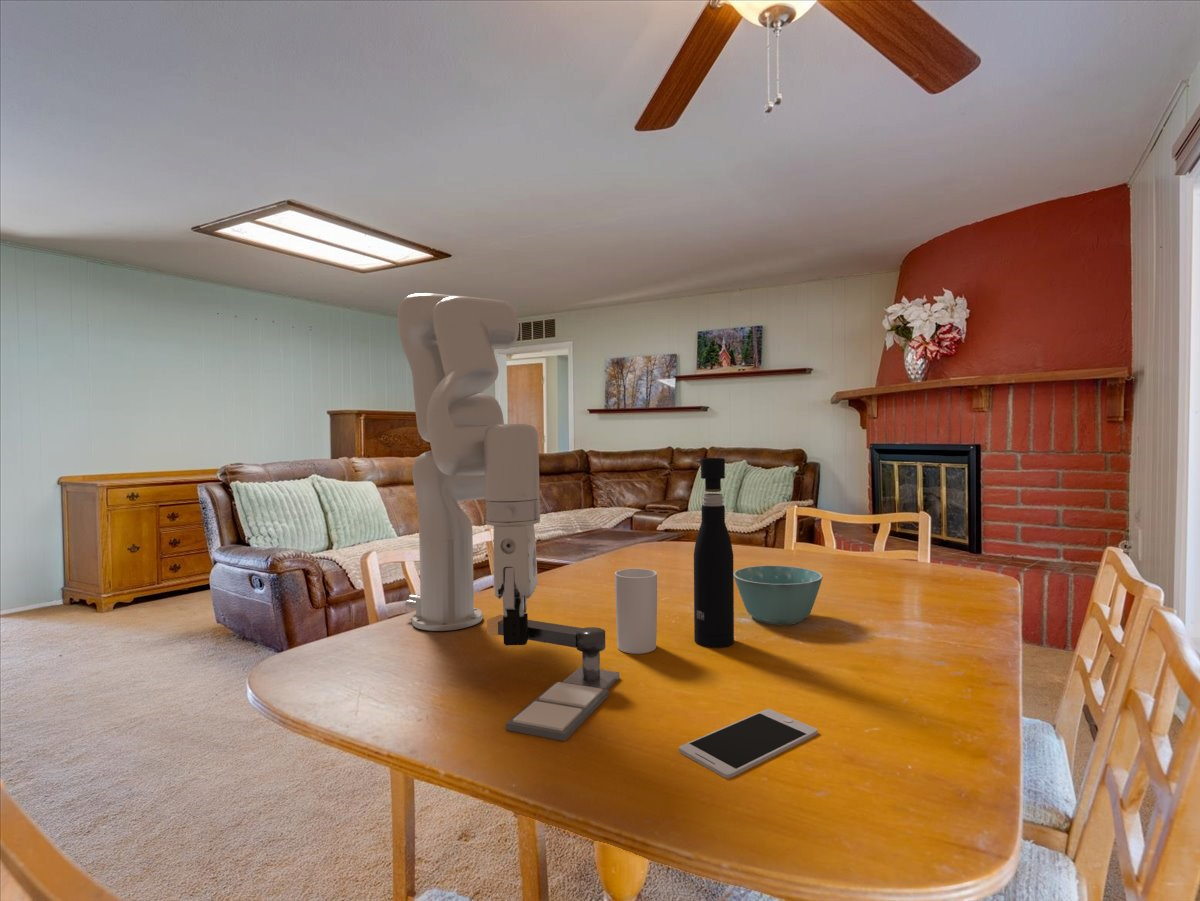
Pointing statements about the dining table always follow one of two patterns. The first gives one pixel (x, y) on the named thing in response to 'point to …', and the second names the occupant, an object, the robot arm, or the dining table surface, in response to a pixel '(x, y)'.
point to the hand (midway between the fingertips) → (516, 643)
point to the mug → (636, 610)
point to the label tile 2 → (574, 696)
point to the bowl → (778, 592)
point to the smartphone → (747, 742)
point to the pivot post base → (592, 673)
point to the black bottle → (713, 565)
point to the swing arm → (557, 634)
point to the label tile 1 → (547, 720)
